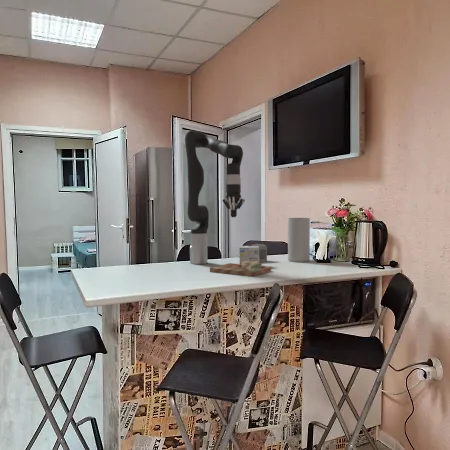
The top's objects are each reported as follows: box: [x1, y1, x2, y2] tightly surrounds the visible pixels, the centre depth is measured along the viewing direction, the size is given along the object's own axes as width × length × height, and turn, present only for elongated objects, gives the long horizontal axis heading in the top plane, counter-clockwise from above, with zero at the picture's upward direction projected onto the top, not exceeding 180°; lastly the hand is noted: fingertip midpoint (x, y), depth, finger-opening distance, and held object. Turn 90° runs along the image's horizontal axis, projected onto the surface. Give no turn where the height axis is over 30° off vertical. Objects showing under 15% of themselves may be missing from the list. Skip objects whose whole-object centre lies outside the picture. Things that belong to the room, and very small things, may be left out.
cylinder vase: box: [287, 217, 311, 263], centre depth 233 cm, size 12×12×25 cm
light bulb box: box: [238, 245, 260, 264], centre depth 217 cm, size 11×7×11 cm, turn 84°
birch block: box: [242, 261, 260, 271], centre depth 192 cm, size 6×6×4 cm
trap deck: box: [209, 262, 272, 277], centre depth 200 cm, size 25×18×5 cm
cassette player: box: [248, 243, 268, 262], centre depth 233 cm, size 16×3×10 cm, turn 113°
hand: (233, 217), depth 207 cm, fingers closed
